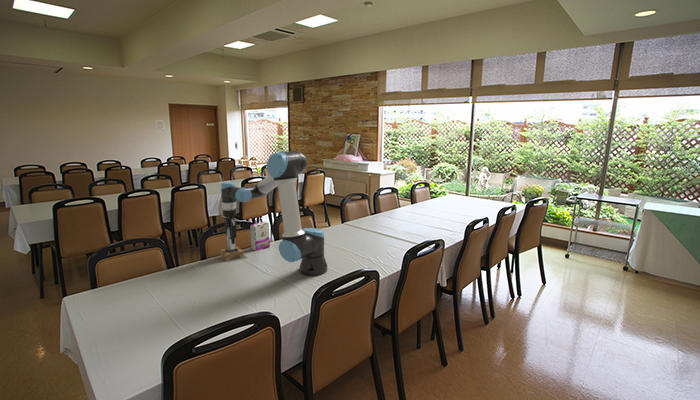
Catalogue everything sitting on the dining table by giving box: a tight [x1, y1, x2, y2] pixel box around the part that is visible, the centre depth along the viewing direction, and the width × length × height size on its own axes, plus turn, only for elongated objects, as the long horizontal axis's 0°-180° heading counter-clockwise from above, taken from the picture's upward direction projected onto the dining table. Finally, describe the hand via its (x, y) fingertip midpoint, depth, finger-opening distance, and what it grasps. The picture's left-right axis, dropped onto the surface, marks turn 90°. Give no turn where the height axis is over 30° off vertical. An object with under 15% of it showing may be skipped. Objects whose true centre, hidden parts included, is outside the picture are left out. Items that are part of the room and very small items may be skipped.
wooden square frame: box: [220, 246, 245, 262], centre depth 204 cm, size 10×10×4 cm
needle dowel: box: [226, 228, 235, 253], centre depth 202 cm, size 4×4×16 cm
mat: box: [219, 253, 249, 263], centre depth 205 cm, size 14×12×1 cm
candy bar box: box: [250, 221, 271, 252], centre depth 219 cm, size 11×5×16 cm, turn 143°
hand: (231, 247), depth 203 cm, fingers closed on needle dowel, 4 cm apart
